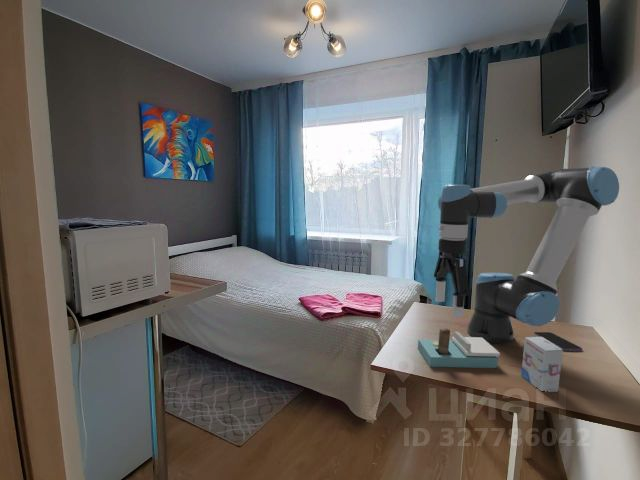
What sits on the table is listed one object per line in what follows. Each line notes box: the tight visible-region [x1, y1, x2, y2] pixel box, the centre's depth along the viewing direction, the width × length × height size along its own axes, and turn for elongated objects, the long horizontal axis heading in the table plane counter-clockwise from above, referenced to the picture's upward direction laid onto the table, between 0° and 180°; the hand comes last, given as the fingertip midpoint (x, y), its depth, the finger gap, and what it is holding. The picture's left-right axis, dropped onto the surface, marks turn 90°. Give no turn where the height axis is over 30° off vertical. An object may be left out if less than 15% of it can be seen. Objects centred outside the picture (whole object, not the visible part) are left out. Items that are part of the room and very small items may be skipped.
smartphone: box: [533, 331, 583, 352], centre depth 121 cm, size 7×1×15 cm
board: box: [417, 339, 499, 369], centre depth 106 cm, size 20×12×3 cm, turn 91°
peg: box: [438, 327, 451, 355], centre depth 103 cm, size 3×3×10 cm
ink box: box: [520, 336, 564, 393], centre depth 92 cm, size 9×5×12 cm, turn 5°
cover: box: [451, 331, 501, 357], centre depth 106 cm, size 10×11×3 cm
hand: (448, 308), depth 102 cm, fingers open, 13 cm apart
